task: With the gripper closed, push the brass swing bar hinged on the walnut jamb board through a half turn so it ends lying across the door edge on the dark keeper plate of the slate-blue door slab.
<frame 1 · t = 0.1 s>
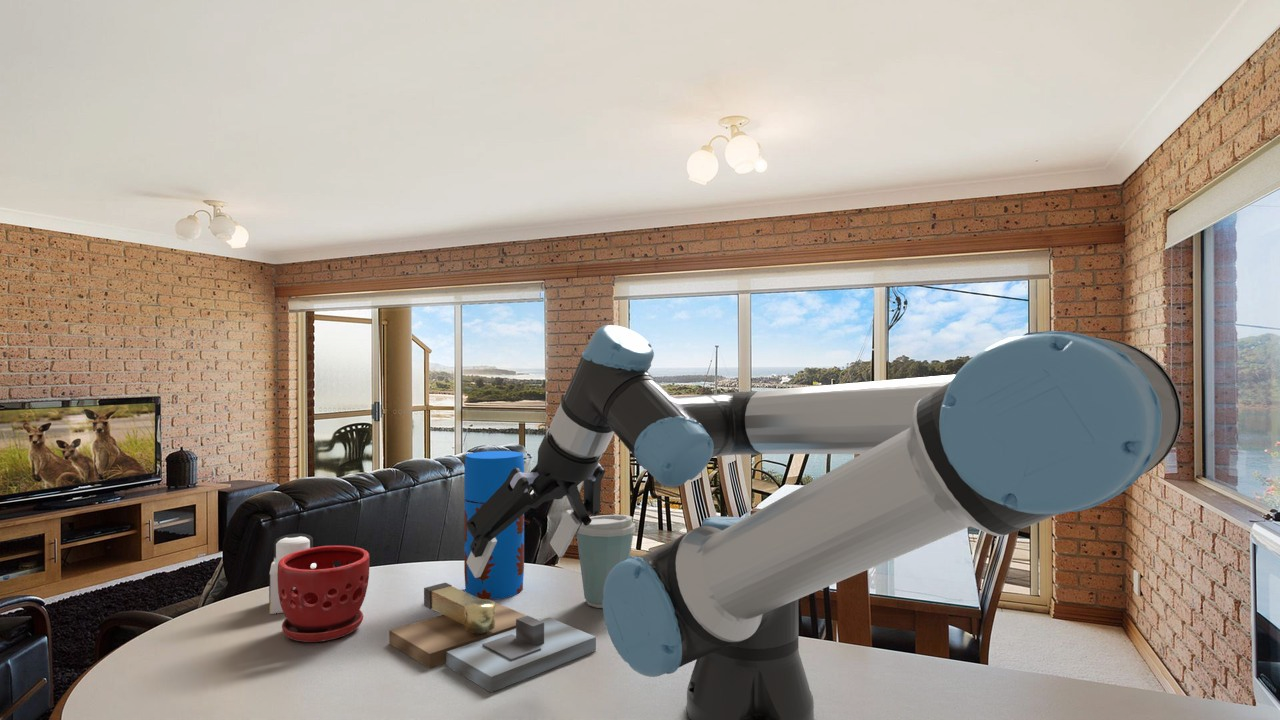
hand: (516, 559, 95), 15 cm above the kitchen counter, tool tilted 35°, fingers open, 13 cm apart
thermos: (494, 590, 129), on the kitchen counter
medicine bottle: (293, 606, 121), on the kitchen counter
swing bar: (460, 606, 107), point 4 cm above the kitchen counter, hinge at 0.0°
door and jamb: (479, 646, 104), on the kitchen counter
plant pot: (324, 633, 109), on the kitchen counter
disposable coffee cup: (604, 603, 122), on the kitchen counter
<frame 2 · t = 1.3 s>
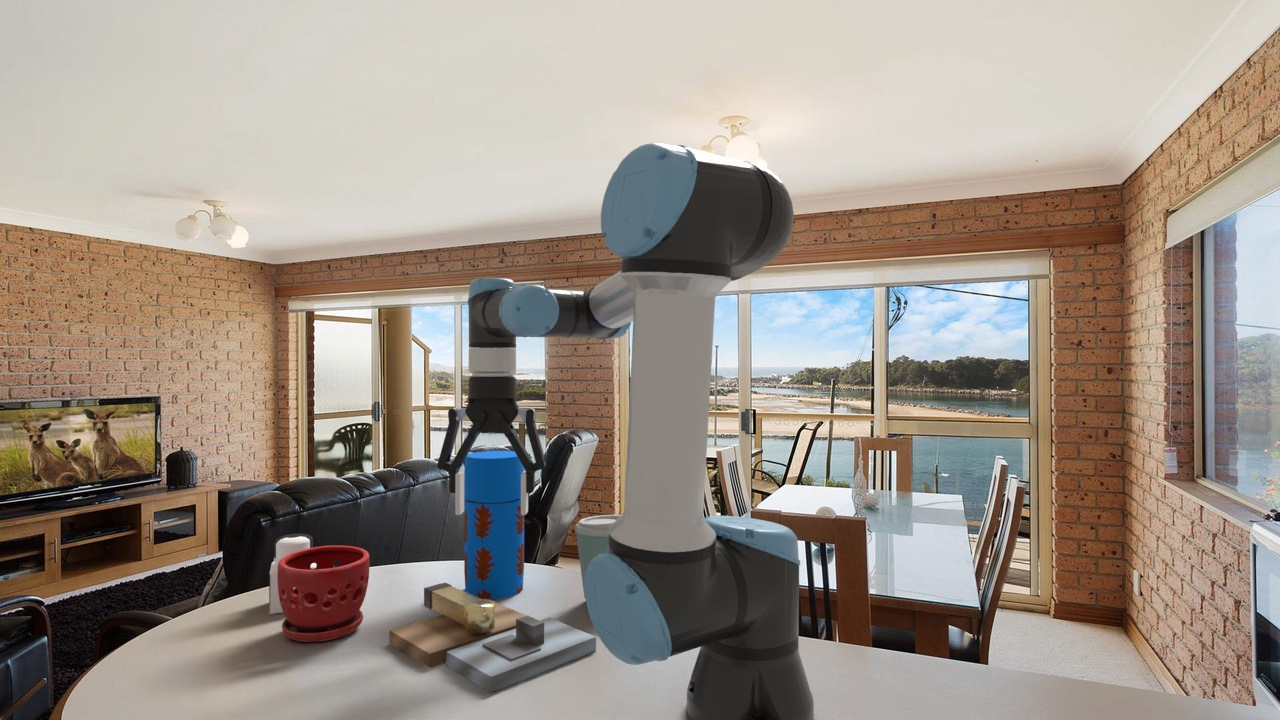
hand: (492, 513, 113), 18 cm above the kitchen counter, tool pointing down, fingers open, 10 cm apart
nothing on the kitchen counter moved.
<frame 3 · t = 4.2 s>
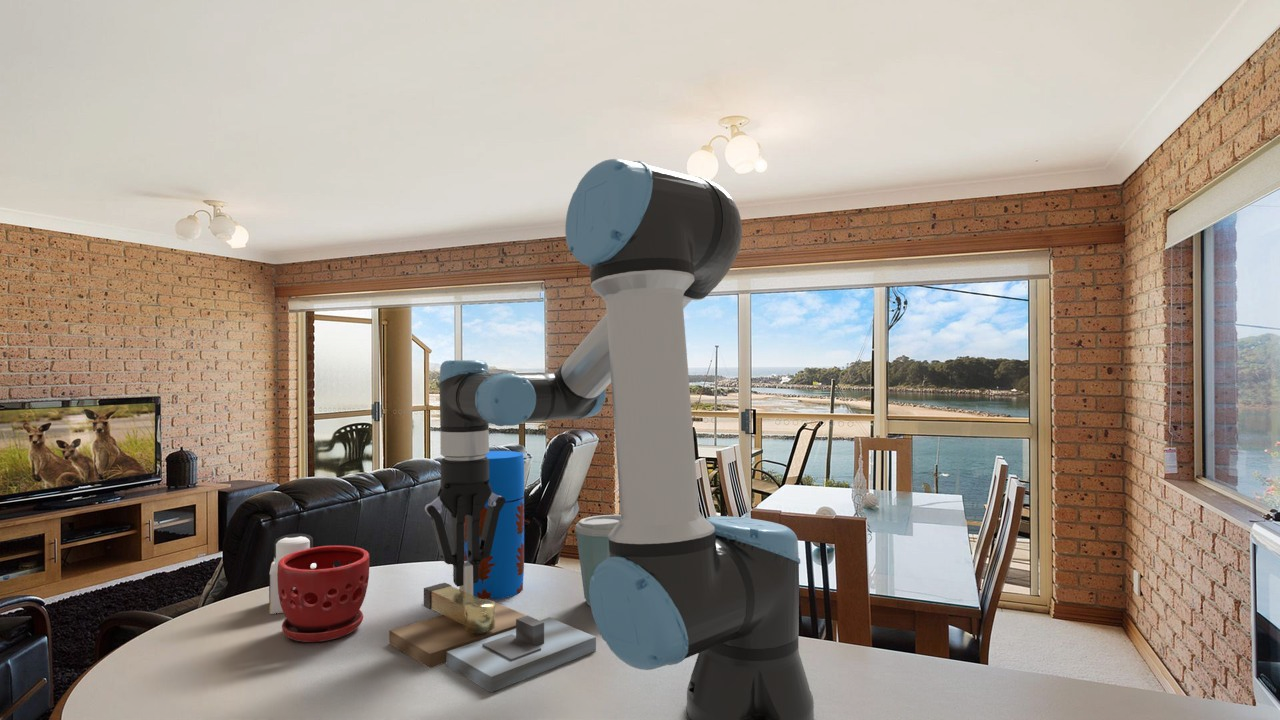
hand: (466, 604, 111), 4 cm above the kitchen counter, tool pointing down, fingers closed
swing bar: (460, 606, 107), point 5 cm above the kitchen counter, hinge at 0.3°, touching gripper
everything else where it was.
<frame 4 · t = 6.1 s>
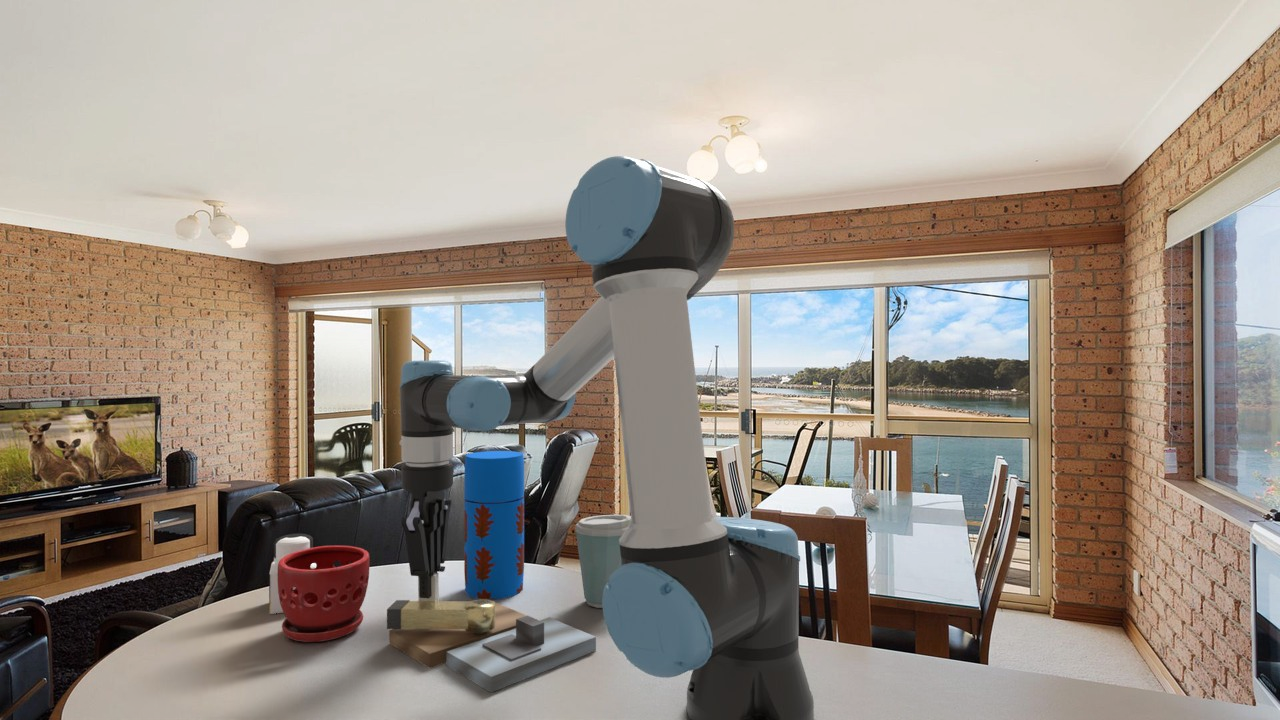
hand: (428, 616, 106), 3 cm above the kitchen counter, tool pointing down, fingers closed
swing bar: (443, 615, 104), point 4 cm above the kitchen counter, hinge at 43.2°, touching gripper
everything else where it was.
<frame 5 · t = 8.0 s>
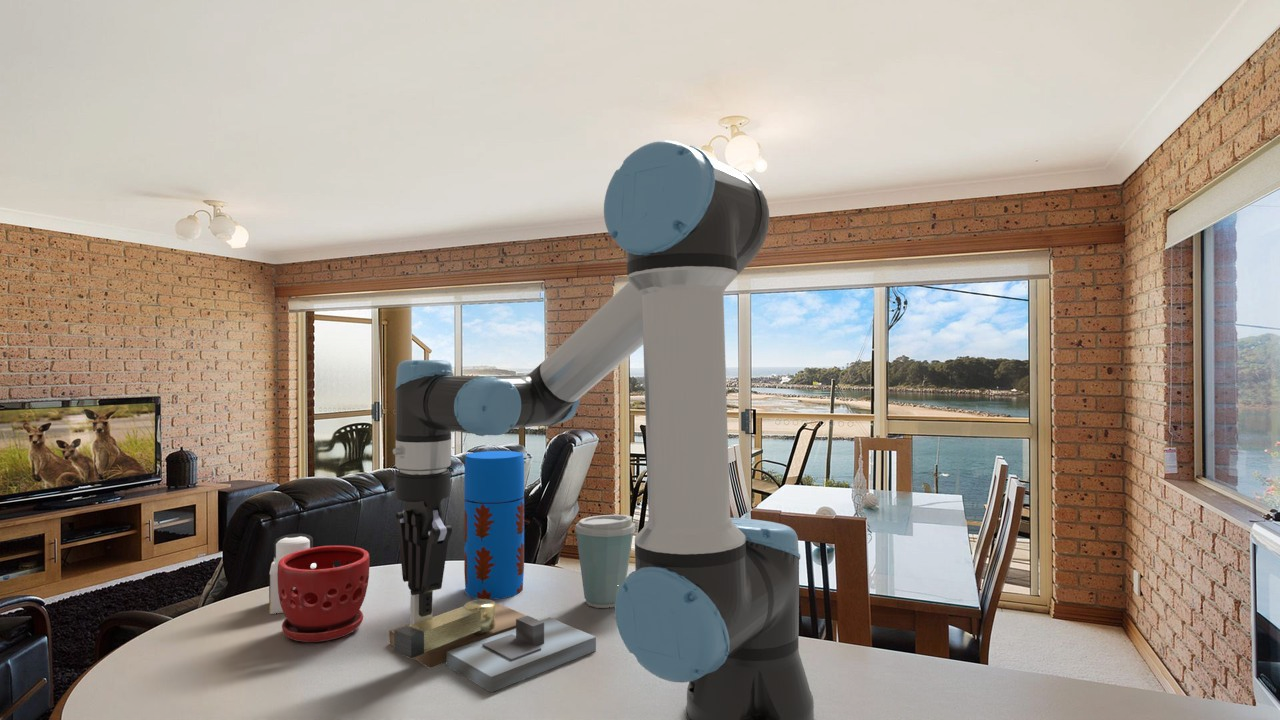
hand: (421, 636, 98), 4 cm above the kitchen counter, tool pointing down, fingers closed
swing bar: (449, 627, 99), point 4 cm above the kitchen counter, hinge at 97.6°, touching gripper
everything else where it was.
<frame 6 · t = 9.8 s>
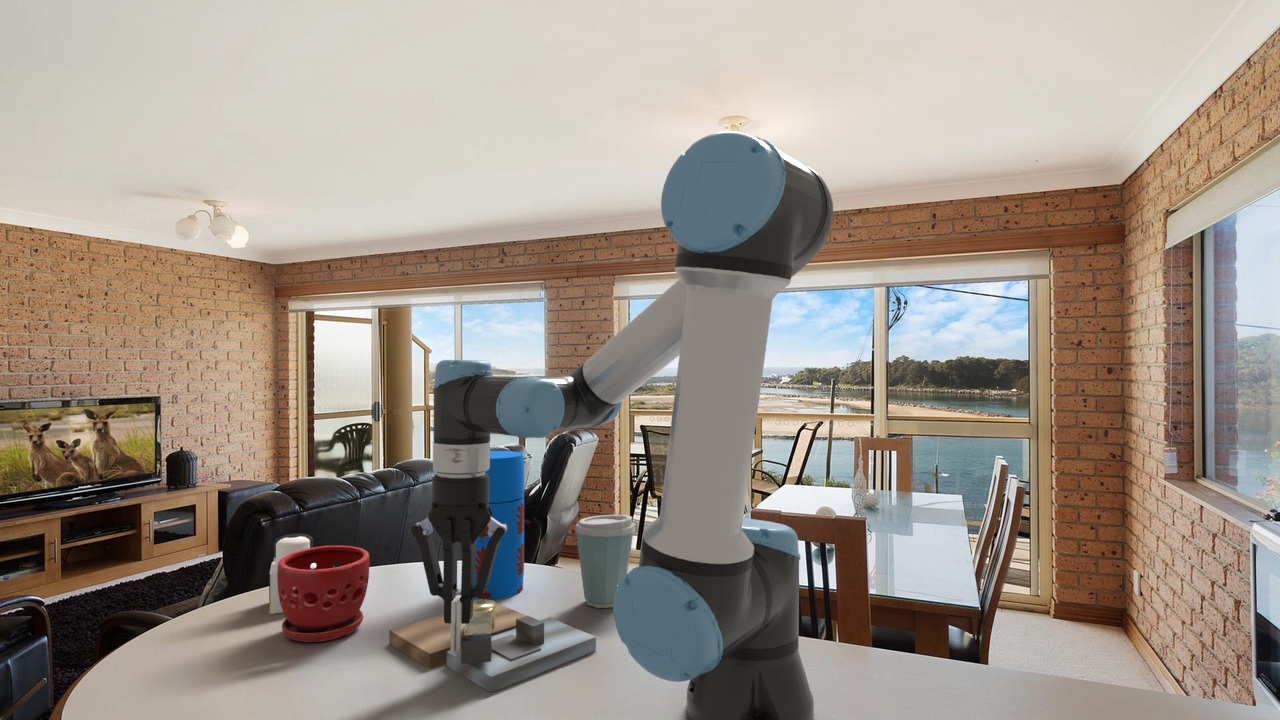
hand: (457, 646, 95), 4 cm above the kitchen counter, tool pointing down, fingers closed
swing bar: (478, 629, 98), point 4 cm above the kitchen counter, hinge at 145.3°, touching gripper
everything else where it was.
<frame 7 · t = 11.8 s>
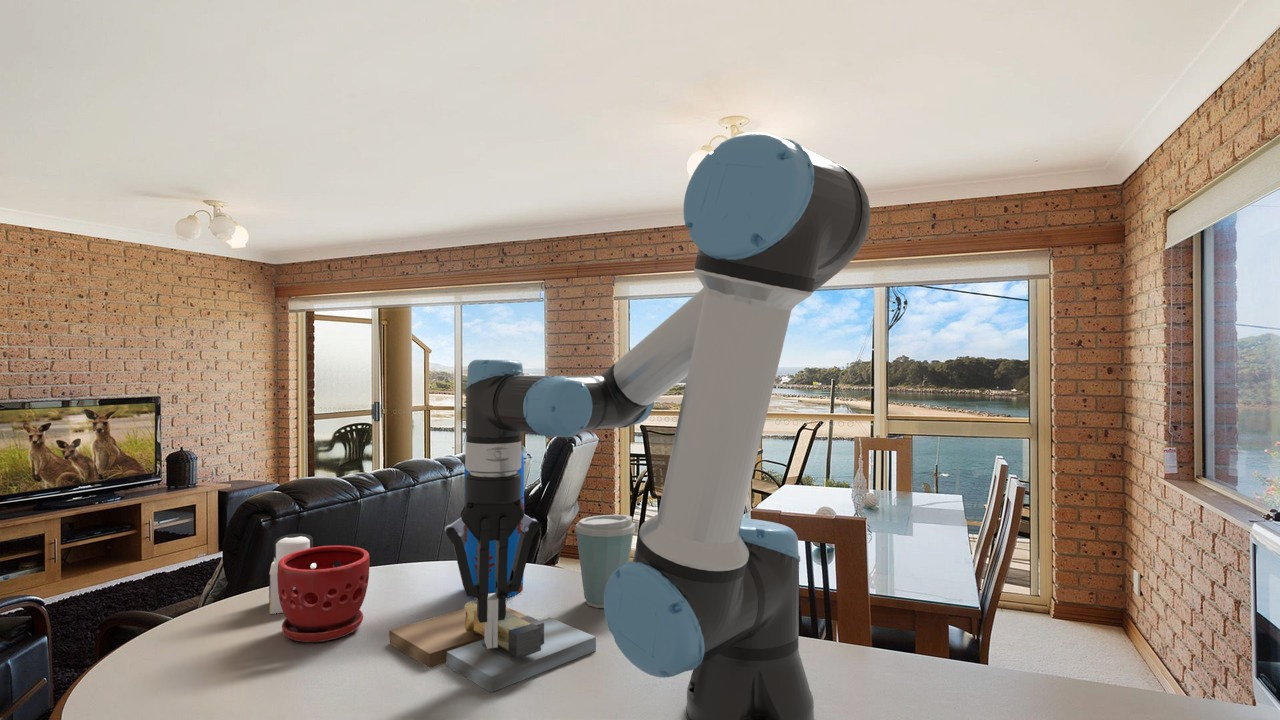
hand: (490, 643, 95), 4 cm above the kitchen counter, tool pointing down, fingers closed
swing bar: (499, 626, 99), point 4 cm above the kitchen counter, hinge at 176.2°, touching gripper
everything else where it was.
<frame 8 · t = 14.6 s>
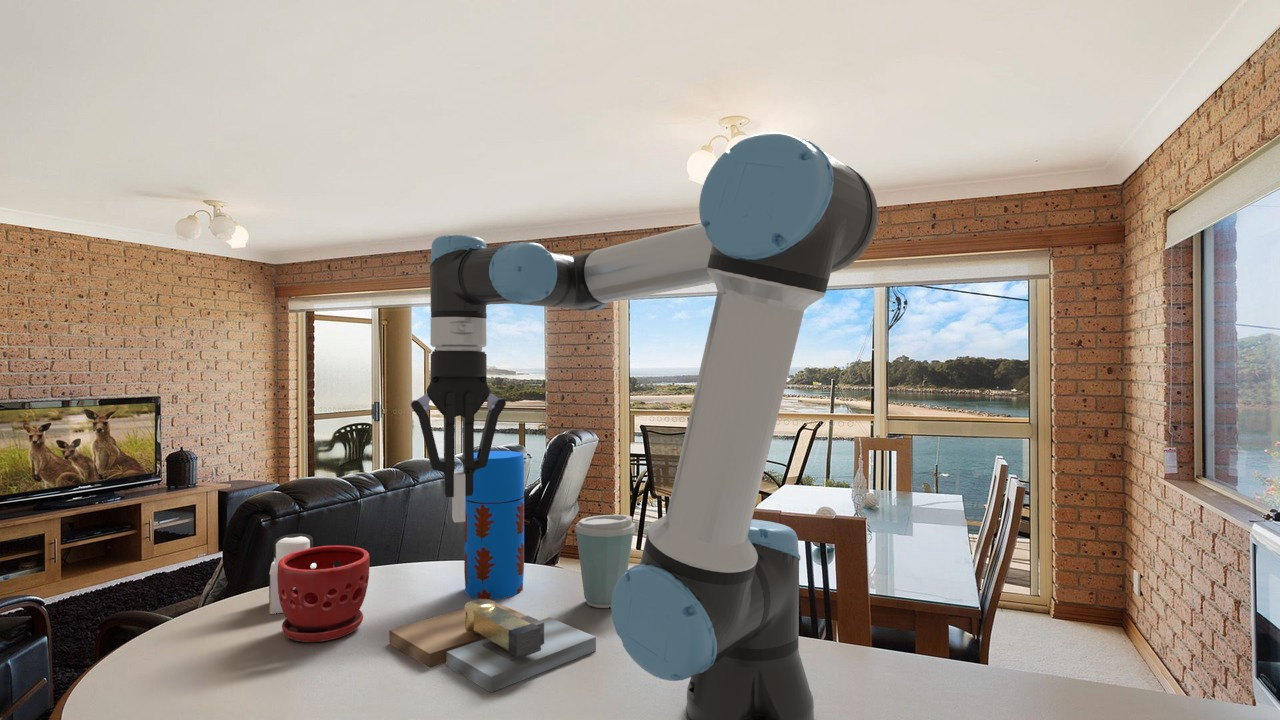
hand: (458, 519, 96), 20 cm above the kitchen counter, tool pointing down, fingers closed
swing bar: (499, 626, 99), point 4 cm above the kitchen counter, hinge at 176.2°
everything else where it was.
at the end: swing bar at +176° (first picture: +0°) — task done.
